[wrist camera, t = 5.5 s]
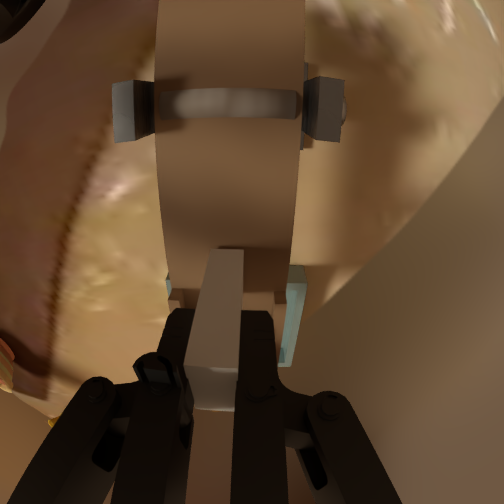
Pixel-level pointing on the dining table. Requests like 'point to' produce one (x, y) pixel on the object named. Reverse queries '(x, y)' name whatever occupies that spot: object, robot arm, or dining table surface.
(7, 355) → the potted cactus
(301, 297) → the dish
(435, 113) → the dining table surface
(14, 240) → the dining table surface
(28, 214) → the dining table surface
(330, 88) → the stand
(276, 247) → the lever
